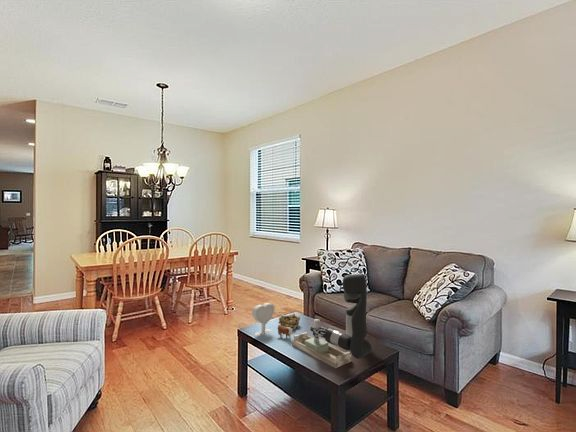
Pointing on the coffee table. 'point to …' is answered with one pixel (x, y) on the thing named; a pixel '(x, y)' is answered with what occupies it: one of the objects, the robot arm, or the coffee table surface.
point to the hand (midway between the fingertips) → (313, 327)
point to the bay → (330, 357)
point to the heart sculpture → (263, 315)
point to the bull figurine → (284, 331)
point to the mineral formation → (289, 321)
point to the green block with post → (317, 341)
